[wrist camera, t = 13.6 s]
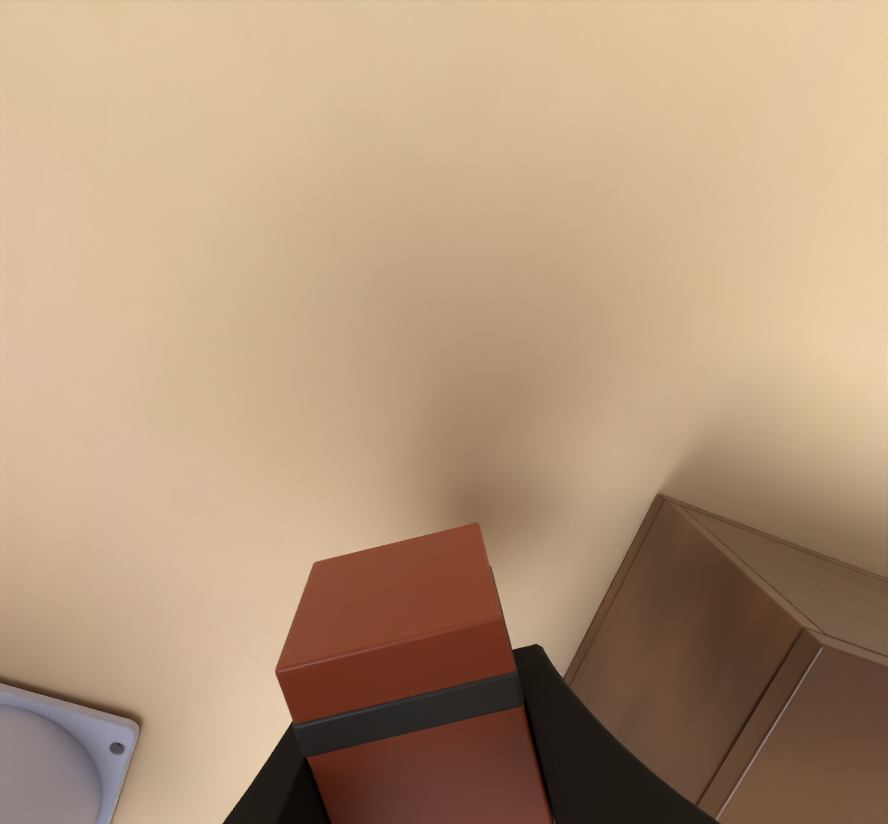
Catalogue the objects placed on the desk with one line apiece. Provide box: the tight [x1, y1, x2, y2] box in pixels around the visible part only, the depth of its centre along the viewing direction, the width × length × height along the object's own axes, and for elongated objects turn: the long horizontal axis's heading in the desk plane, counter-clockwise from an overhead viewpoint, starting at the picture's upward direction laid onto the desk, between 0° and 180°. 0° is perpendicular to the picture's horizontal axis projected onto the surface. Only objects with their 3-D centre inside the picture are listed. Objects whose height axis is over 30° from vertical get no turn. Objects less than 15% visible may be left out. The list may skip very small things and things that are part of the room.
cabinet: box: [554, 494, 888, 824], centre depth 18 cm, size 15×12×8 cm
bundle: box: [275, 523, 555, 824], centre depth 12 cm, size 7×4×4 cm, turn 14°
